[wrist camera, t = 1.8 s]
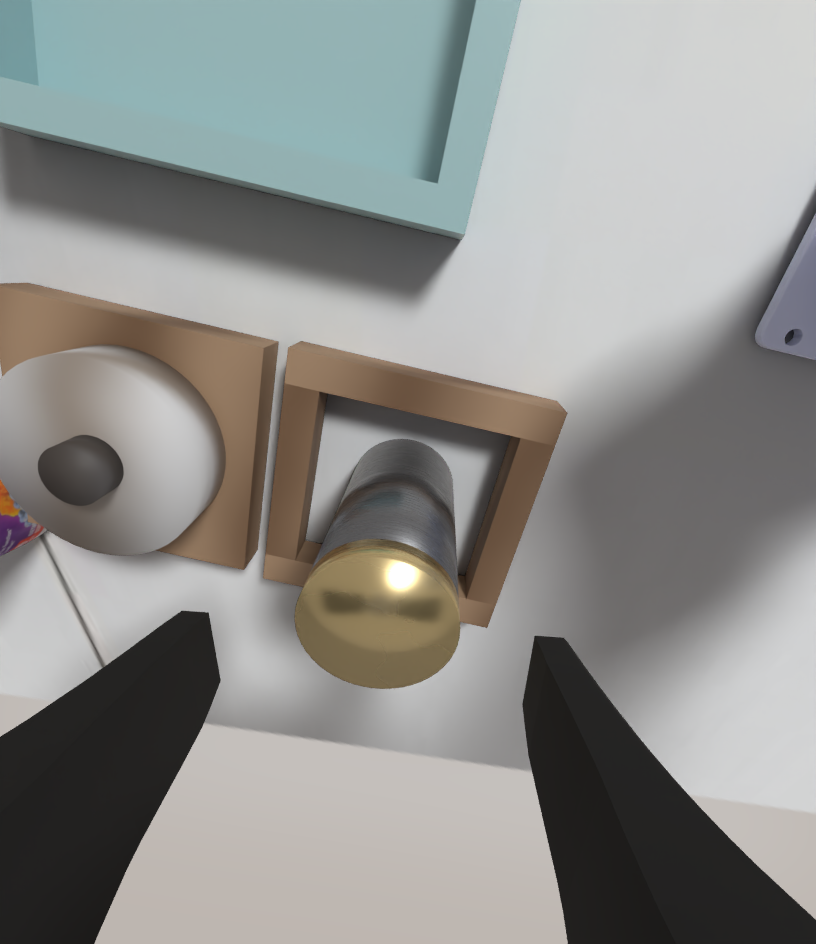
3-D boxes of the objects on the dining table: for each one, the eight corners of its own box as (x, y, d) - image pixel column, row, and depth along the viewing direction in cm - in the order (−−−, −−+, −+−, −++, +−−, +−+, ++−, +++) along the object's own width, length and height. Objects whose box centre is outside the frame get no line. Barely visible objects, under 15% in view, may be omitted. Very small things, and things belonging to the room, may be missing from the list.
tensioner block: (556, 401, 17) (594, 443, 13) (484, 603, 20) (494, 687, 16) (26, 276, 16) (-115, 278, 12) (52, 507, 20) (-50, 569, 16)
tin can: (464, 452, 18) (480, 579, 10) (439, 539, 19) (437, 702, 12) (362, 428, 18) (305, 540, 10) (345, 518, 19) (286, 669, 12)
